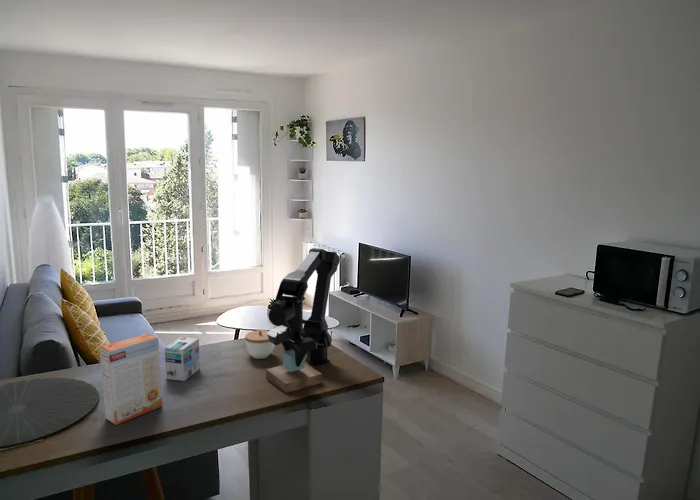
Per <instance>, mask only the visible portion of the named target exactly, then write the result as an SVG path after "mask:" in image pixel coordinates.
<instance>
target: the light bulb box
mask: <svg viewBox="0 0 700 500" xmlns="http://www.w3.org/2000/svg"><path fill="white" fill-rule="evenodd" d="M164 358H165V359H164V360H165V378H166V380H172V381H174V380H175V381H181V382H185V381H186V380H188V378H189V379H190V377H191V376H192V375H195V373H197V372H198V371H200V369H201V368H200V367H201V365H200V364H201V363H200V339H199V338H194V337H186V336H185V337H183V336H180V337H179V338H177V339H176V340H174V341H173V342H171V343H169V344H168V345H166V346H165V347H164Z"/></svg>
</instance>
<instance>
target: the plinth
mask: <svg viewBox="0 0 700 500" xmlns="http://www.w3.org/2000/svg"><path fill="white" fill-rule="evenodd" d="M265 378H266V380H268V381H269V382H270V383H272V384H273V385H275V386H276V387H277V388H279V389H280V390H281V391H282V392H284V393H285V394H288V393H291V392H296V391H298V390H301V389H305V388H308V387H312V386H316V385H318V384H322V383H323V373H322V372H320V371H318V370H316V369H315V368H313V367H312V366H310V365H308V364H307V363H306V362H304V368H303V369H299V370H296V371H292V372H290V371H289V370H287V369H286V368H284V367H283V364H282V365H278V366H274V367H270V368H266V370H265Z"/></svg>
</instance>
